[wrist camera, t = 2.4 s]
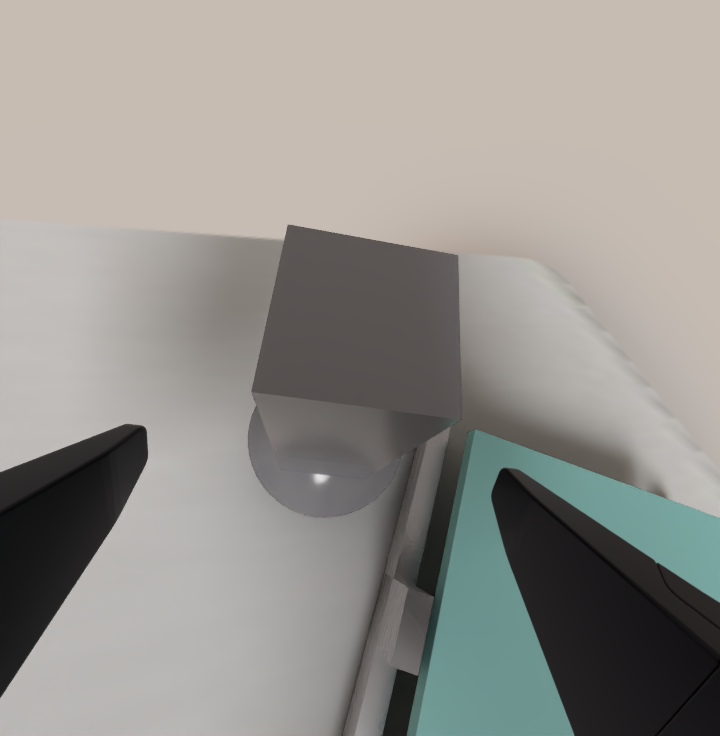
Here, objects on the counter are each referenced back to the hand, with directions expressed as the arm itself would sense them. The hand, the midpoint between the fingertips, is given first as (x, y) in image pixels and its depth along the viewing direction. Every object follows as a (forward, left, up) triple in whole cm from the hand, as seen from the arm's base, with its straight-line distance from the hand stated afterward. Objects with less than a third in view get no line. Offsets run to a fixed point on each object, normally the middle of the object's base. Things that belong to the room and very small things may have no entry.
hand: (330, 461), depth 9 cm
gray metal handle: (+2, +1, -10) cm, 10 cm away
